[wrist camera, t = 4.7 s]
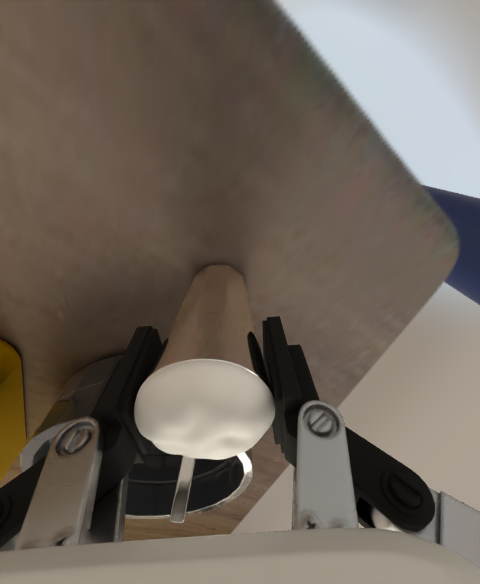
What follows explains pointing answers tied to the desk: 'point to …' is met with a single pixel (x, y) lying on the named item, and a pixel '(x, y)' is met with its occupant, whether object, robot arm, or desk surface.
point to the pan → (157, 466)
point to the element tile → (10, 407)
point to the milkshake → (207, 380)
